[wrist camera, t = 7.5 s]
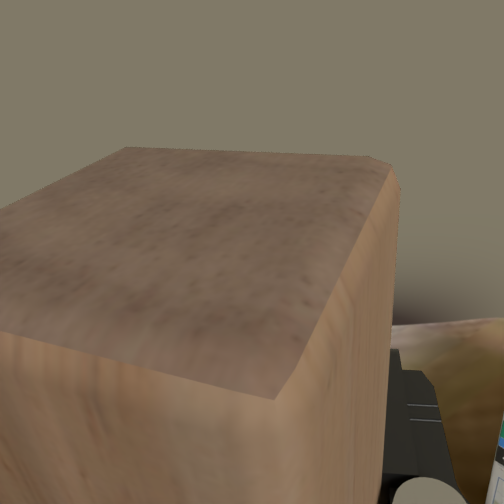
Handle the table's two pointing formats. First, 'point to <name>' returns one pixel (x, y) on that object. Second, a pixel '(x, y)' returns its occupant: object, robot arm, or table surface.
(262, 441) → the wooden block
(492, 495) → the light bulb box
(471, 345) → the table surface
